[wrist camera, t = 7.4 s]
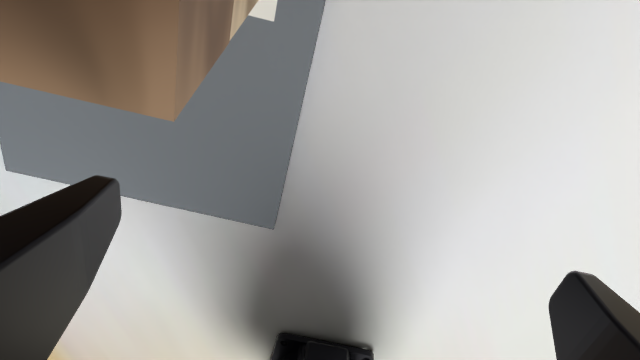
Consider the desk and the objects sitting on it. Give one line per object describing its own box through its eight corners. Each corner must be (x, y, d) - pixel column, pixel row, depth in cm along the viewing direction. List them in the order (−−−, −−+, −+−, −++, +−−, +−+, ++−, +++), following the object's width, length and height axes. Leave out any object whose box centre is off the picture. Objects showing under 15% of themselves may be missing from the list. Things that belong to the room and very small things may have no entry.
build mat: (274, 224, 25) (273, 229, 25) (10, 166, 24) (5, 170, 24) (368, -192, 15) (368, -193, 14) (-87, -323, 14) (-99, -327, 13)
